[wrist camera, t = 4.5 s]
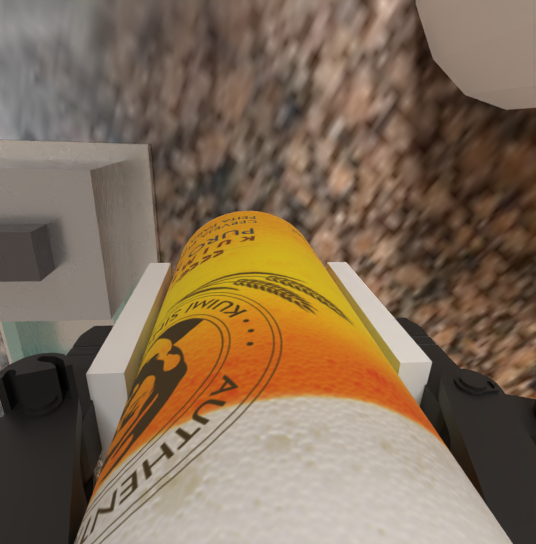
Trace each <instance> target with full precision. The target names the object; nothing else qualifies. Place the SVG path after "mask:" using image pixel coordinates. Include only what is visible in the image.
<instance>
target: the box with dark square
mask: <svg viewBox="0 0 536 544" xmlns="http://www.w3.org/2000/svg"><path fill="white" fill-rule="evenodd" d="M150 263H160V252H159V239H158V227H157V215H156V202H155V190H154V178H153V165H152V153H151V144H134V143H100V142H66V141H32V140H0V331H1V334H2V338H3V342H4V345H5V349H6V353H7V356H8V360H9V364H11V363H14V362H16V361H18V360H20V359H22V358H25V357H28V356H32V355H36V354H40V353H52V352H53V353H60V354H64V355H67V354H68V352H69V351H70V349H71V348H73V345H74V344H75V342H76V341H77V339H78V338H79V337H80V335H82V334H83V333H85V332H86V331H87V330H89V329H90V328H92V327H93V326H109V325H115V323H116V321H117V319H118V318H119V316H120V314H121V312H122V311H123V309H124V307H125V305H126V304H127V302H128V300H129V299H130V297H131V295H132V293H133V292H134V290H135V288H136V286H137V285H138V283H139V281H140V279H141V278H142V276H143V274H144V272H145V271H146V269H147V267H148V265H149V264H150Z"/></svg>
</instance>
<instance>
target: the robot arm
mask: <svg viewBox="0 0 536 544" xmlns="http://www.w3.org/2000/svg"><path fill="white" fill-rule="evenodd" d="M327 271H328V273H329V274H330V276H331V277H332V279H333V280H334V282H335V283H336V285H337V286H338V288H339V289H340V291H341V292H342V293H343V295H344V296H345V298H346V299H347V301H348V302H349V304H350V305H351V307H352V308H353V310H354V311H355V313H356V314H357V315H358V317H359V318H360V320H361V321H362V323H363V324H364V326H365V327H366V329H367V330H368V332H369V333H370V335H371V336H372V338H373V339H374V340H375V342H376V343H377V345H378V346H379V348H380V349H381V351H382V352H383V354H384V355H385V357H386V358H387V360H388V361H389V363H390V364H391V365H392V367H393V368H394V370H395V371H396V373H397V374H398V376H399V377H400V379H401V380H402V382H403V383H404V385H405V386H406V388H407V389H408V390H409V392H410V393H411V395H412V396H413V398H414V399H415V401H416V402H417V404H418V405H419V407H420V408H421V410H422V411H423V413H424V414H425V415H426V417H427V418H428V420H429V421H430V423H431V424H432V426H433V427H434V429H435V430H436V432H437V433H438V435H439V436H440V438H441V439H442V440H443V442H444V443H445V445H446V446H447V448H448V449H449V451H450V452H451V454H452V455H453V457H454V458H455V460H456V461H457V462H458V464H459V465H460V467H461V468H462V470H463V471H464V473H465V474H466V476H467V477H468V479H469V480H470V482H471V483H472V485H473V486H474V487H475V489H476V490H477V492H478V493H479V495H480V496H481V498H482V499H483V501H484V502H485V504H486V505H487V507H488V508H489V510H490V511H491V512H492V514H493V515H494V517H495V518H496V520H497V521H498V523H499V524H500V526H501V527H502V529H503V530H504V532H505V533H506V535H507V536H508V537H509V539H510V540H511V542H512V543H513V544H536V399H530V398H524V397H519V396H513V395H507V394H505V393H504V391H503V390H502V389H501V388H500V387H499V385H498V384H497V383H496V382H494V381H493V380H491V379H490V378H488V377H487V376H484V375H482V374H480V373H477V372H475V371H471V370H467V369H460V368H459V367H458V366H457V365H456V364H455V363H454V362H453V361H452V360H451V359H450V358H449V357H448V356H447V355H446V354H445V352H444V351H443V350H442V349H441V348H440V347H439V346H438V345H436V344H435V342H434V341H433V340H432V339H431V338H430V337H428V335H427V334H426V333H425V332H424V330H423V329H422V328H421V327H420V326H419V325H417V324H415V323H413V322H412V321H410V320H408V319H406V318H394V317H393V316H392V315H391V314H390V312H389V311H388V310H387V309H386V308H385V307H384V306H383V304H382V303H381V302H380V301H379V300H378V299H377V297H376V296H375V295H374V294H373V293H372V292H371V290H370V289H369V288H368V287H367V286H366V285H365V284H364V282H363V281H362V280H361V279H360V278H359V277H358V275H357V274H356V273H355V272H354V271H353V270H352V268H351V267H350V266H349V265H348V264H347V263H346V262H327ZM171 280H172V275H171V263H150V264H149V265H148V267H147V269H146V271H145V272H144V274H143V276H142V278H141V279H140V281H139V283H138V285H137V286H136V288H135V290H134V292H133V293H132V295H131V297H130V299H129V300H128V302H127V304H126V305H125V307H124V309H123V311H122V312H121V314H120V316H119V318H118V319H117V321H116V323H115V325H109V326H93V327H92V328H90V329H89V330H87V331H86V332H85V333H83V334H82V335H80V337H79V338H78V339H77V341H76V342H75V344H74V345H73V348H71V349H70V351H69V352H68V354H67V355H64V354H60V353H53V352H52V353H40V354H36V355H32V356H28V357H25V358H22V359H20V360H18V361H16V362H14V363H11V364H10V365H8V366H7V367H6V368H4V369H3V370H1V371H0V400H1V403H2V407H3V410H4V413H5V414H4V417H1V418H0V544H74V542H75V539H76V537H77V534H78V531H79V529H80V526H81V523H82V520H83V518H84V515H85V512H86V510H87V507H88V504H89V502H90V499H91V496H92V493H93V491H94V488H95V485H96V480H95V475H94V469H95V467H96V464H97V461H98V459H99V456H100V454H101V457H102V462H103V464H104V461H105V458H106V456H107V453H108V450H109V448H110V445H111V442H112V439H113V437H114V434H115V431H116V429H117V426H118V423H119V421H120V418H121V415H122V412H123V410H124V407H125V404H126V402H127V399H128V396H129V394H130V391H131V388H132V385H133V383H134V380H135V377H136V375H137V372H138V369H139V367H140V364H141V361H142V359H143V356H144V353H145V350H146V348H147V345H148V342H149V340H150V337H151V334H152V332H153V329H154V326H155V323H156V321H157V318H158V315H159V313H160V310H161V307H162V305H163V302H164V299H165V296H166V294H167V291H168V288H169V286H170V283H171Z"/></svg>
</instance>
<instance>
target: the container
mask: <svg viewBox="0 0 536 544" xmlns="http://www.w3.org/2000/svg"><path fill="white" fill-rule="evenodd" d="M416 7H417V10H418V13H419V16H420V20H421V23H422V26H423V29H424V32H425V35H426V38H427V42H428V45H429V48H430V51H431V54H432V57H433V60H434V61H435V62H436V63H437V64H438V65H439V66H440V68H441V69H442V70H443V71H444V72H445V73H446V74H447V75H448V76H449V78H450V79H451V80H452V81H453V82H454V83H455V84H456V85H457V87H458V88H459V89H460V90H461V91H462V92H463V93H464V94H465V95H466V96H469V97H472V98H475V99H478V100H480V101H483V102H486V103H489V104H491V105H494V106H497V107H500V108H502V109H505V110H511V109H524V108H536V0H416Z"/></svg>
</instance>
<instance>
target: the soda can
mask: <svg viewBox="0 0 536 544" xmlns="http://www.w3.org/2000/svg"><path fill="white" fill-rule="evenodd" d="M74 544H513V543H512V542H511V540H510V539H509V537H508V536H507V535H506V533H505V532H504V530H503V529H502V527H501V526H500V524H499V523H498V521H497V520H496V518H495V517H494V515H493V514H492V512H491V511H490V510H489V508H488V507H487V505H486V504H485V502H484V501H483V499H482V498H481V496H480V495H479V493H478V492H477V490H476V489H475V487H474V486H473V485H472V483H471V482H470V480H469V479H468V477H467V476H466V474H465V473H464V471H463V470H462V468H461V467H460V465H459V464H458V462H457V461H456V460H455V458H454V457H453V455H452V454H451V452H450V451H449V449H448V448H447V446H446V445H445V443H444V442H443V440H442V439H441V438H440V436H439V435H438V433H437V432H436V430H435V429H434V427H433V426H432V424H431V423H430V421H429V420H428V418H427V417H426V415H425V414H424V413H423V411H422V410H421V408H420V407H419V405H418V404H417V402H416V401H415V399H414V398H413V396H412V395H411V393H410V392H409V390H408V389H407V388H406V386H405V385H404V383H403V382H402V380H401V379H400V377H399V376H398V374H397V373H396V371H395V370H394V368H393V367H392V365H391V364H390V363H389V361H388V360H387V358H386V357H385V355H384V354H383V352H382V351H381V349H380V348H379V346H378V345H377V343H376V342H375V340H374V339H373V338H372V336H371V335H370V333H369V332H368V330H367V329H366V327H365V326H364V324H363V323H362V321H361V320H360V318H359V317H358V315H357V314H356V313H355V311H354V310H353V308H352V307H351V305H350V304H349V302H348V301H347V299H346V298H345V296H344V295H343V293H342V292H341V291H340V289H339V288H338V286H337V285H336V283H335V282H334V280H333V279H332V277H331V276H330V274H329V273H328V271H327V270H326V268H325V267H324V266H323V264H322V263H321V261H320V260H319V258H318V257H317V255H316V254H315V252H314V251H313V249H312V248H311V246H310V245H309V243H308V242H307V241H306V239H305V238H304V236H303V235H302V234H301V233H300V232H299V231H298V230H297V229H296V228H295V227H294V226H292V225H291V224H290V223H288V222H287V221H285V220H283V219H281V218H279V217H277V216H274V215H271V214H268V213H264V212H258V211H238V212H233V213H228V214H225V215H222V216H219V217H217V218H215V219H213V220H211V221H209V222H208V223H206V224H205V225H203V226H202V227H201V228H200V229H199V230H197V231H196V233H195V234H194V235H193V236H192V237H191V238H190V240H189V241H188V242H187V244H186V245H185V247H184V249H183V251H182V254H181V256H180V259H179V261H178V264H177V267H176V269H175V272H174V275H173V278H172V280H171V283H170V286H169V288H168V291H167V294H166V296H165V299H164V302H163V305H162V307H161V310H160V313H159V315H158V318H157V321H156V323H155V326H154V329H153V332H152V334H151V337H150V340H149V342H148V345H147V348H146V350H145V353H144V356H143V359H142V361H141V364H140V367H139V369H138V372H137V375H136V377H135V380H134V383H133V385H132V388H131V391H130V394H129V396H128V399H127V402H126V404H125V407H124V410H123V412H122V415H121V418H120V421H119V423H118V426H117V429H116V431H115V434H114V437H113V439H112V442H111V445H110V448H109V450H108V453H107V456H106V458H105V461H104V464H103V466H102V469H101V472H100V475H99V477H98V480H97V483H96V485H95V488H94V491H93V493H92V496H91V499H90V502H89V504H88V507H87V510H86V512H85V515H84V518H83V520H82V523H81V526H80V529H79V531H78V534H77V537H76V539H75V542H74Z"/></svg>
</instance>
